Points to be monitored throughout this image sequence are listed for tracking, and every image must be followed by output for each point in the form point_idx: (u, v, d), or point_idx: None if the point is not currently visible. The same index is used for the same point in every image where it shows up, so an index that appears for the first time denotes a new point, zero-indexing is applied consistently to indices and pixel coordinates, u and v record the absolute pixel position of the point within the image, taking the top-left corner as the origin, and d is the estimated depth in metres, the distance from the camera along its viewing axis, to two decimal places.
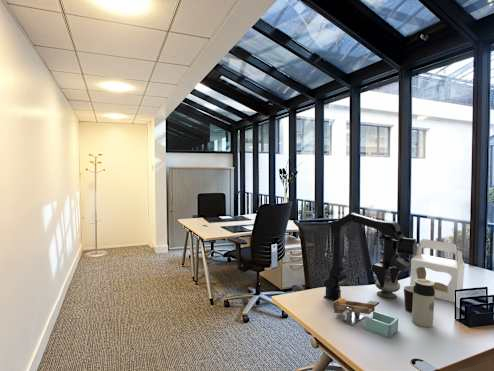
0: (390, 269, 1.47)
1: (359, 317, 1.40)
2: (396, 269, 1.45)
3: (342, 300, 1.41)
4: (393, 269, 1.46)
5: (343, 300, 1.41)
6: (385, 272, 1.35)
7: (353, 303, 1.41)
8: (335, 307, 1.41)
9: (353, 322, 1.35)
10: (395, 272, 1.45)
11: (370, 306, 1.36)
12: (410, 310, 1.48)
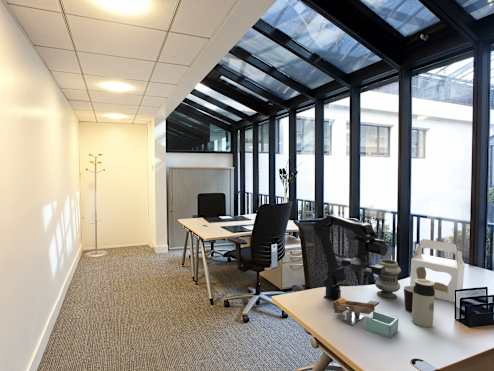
0: None
1: (359, 317, 1.40)
2: None
3: (342, 300, 1.41)
4: None
5: (343, 300, 1.41)
6: (342, 264, 1.51)
7: (353, 303, 1.41)
8: (335, 307, 1.41)
9: (353, 322, 1.35)
10: None
11: (370, 306, 1.36)
12: (410, 310, 1.48)
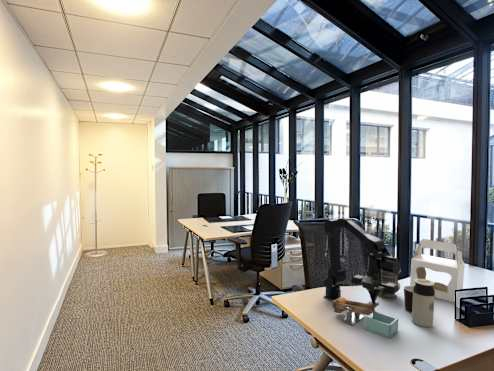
0: None
1: (359, 317, 1.40)
2: None
3: (342, 300, 1.41)
4: None
5: (343, 300, 1.41)
6: (353, 282, 1.46)
7: (353, 303, 1.41)
8: (335, 306, 1.41)
9: (353, 322, 1.35)
10: None
11: (370, 307, 1.36)
12: (410, 310, 1.48)
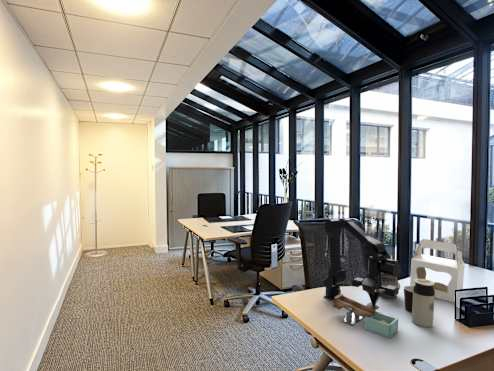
0: None
1: (359, 317, 1.40)
2: None
3: None
4: None
5: None
6: (353, 284, 1.46)
7: (354, 303, 1.41)
8: (335, 302, 1.41)
9: (353, 322, 1.35)
10: None
11: (371, 311, 1.36)
12: (410, 310, 1.48)
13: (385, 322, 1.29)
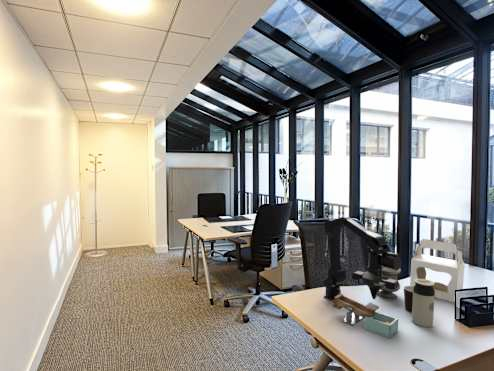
0: None
1: (359, 317, 1.40)
2: None
3: None
4: None
5: None
6: (354, 278, 1.45)
7: (354, 303, 1.41)
8: (335, 302, 1.41)
9: (353, 322, 1.35)
10: None
11: (371, 311, 1.36)
12: (410, 310, 1.48)
13: None
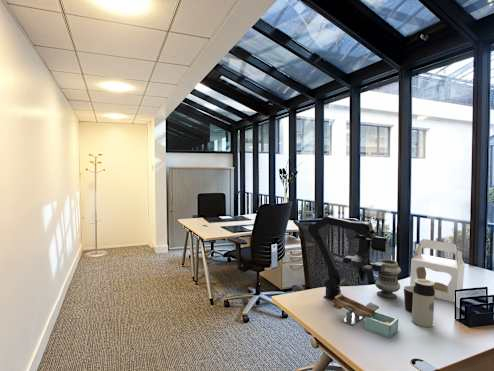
0: None
1: (359, 317, 1.40)
2: None
3: None
4: None
5: None
6: (344, 261, 1.56)
7: (354, 303, 1.41)
8: (335, 302, 1.41)
9: (353, 322, 1.35)
10: None
11: (371, 311, 1.36)
12: (410, 310, 1.48)
13: None
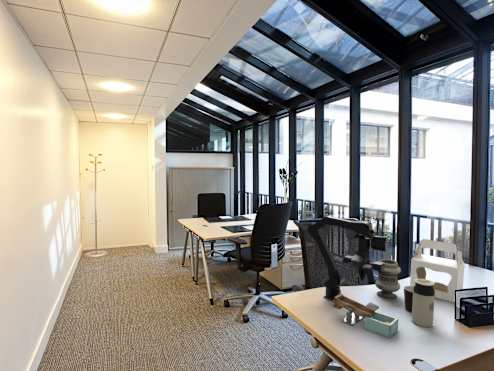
0: None
1: (359, 317, 1.40)
2: None
3: None
4: None
5: None
6: (344, 261, 1.56)
7: (354, 303, 1.41)
8: (335, 302, 1.41)
9: (353, 322, 1.35)
10: None
11: (371, 311, 1.36)
12: (410, 310, 1.48)
13: None
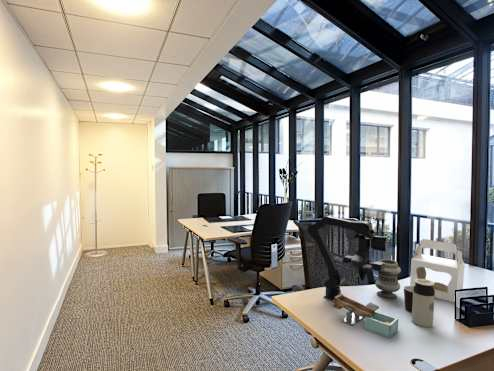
0: None
1: (359, 317, 1.40)
2: None
3: None
4: None
5: None
6: (344, 261, 1.56)
7: (354, 303, 1.41)
8: (335, 302, 1.41)
9: (353, 322, 1.35)
10: None
11: (371, 311, 1.36)
12: (410, 310, 1.48)
13: None
